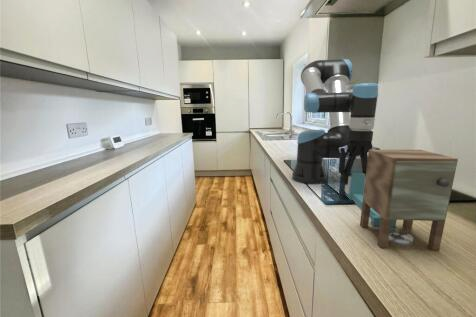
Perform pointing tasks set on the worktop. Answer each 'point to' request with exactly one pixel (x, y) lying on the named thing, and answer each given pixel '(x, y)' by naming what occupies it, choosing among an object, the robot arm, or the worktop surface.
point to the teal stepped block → (357, 196)
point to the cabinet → (408, 190)
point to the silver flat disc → (400, 237)
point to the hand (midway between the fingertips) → (354, 192)
